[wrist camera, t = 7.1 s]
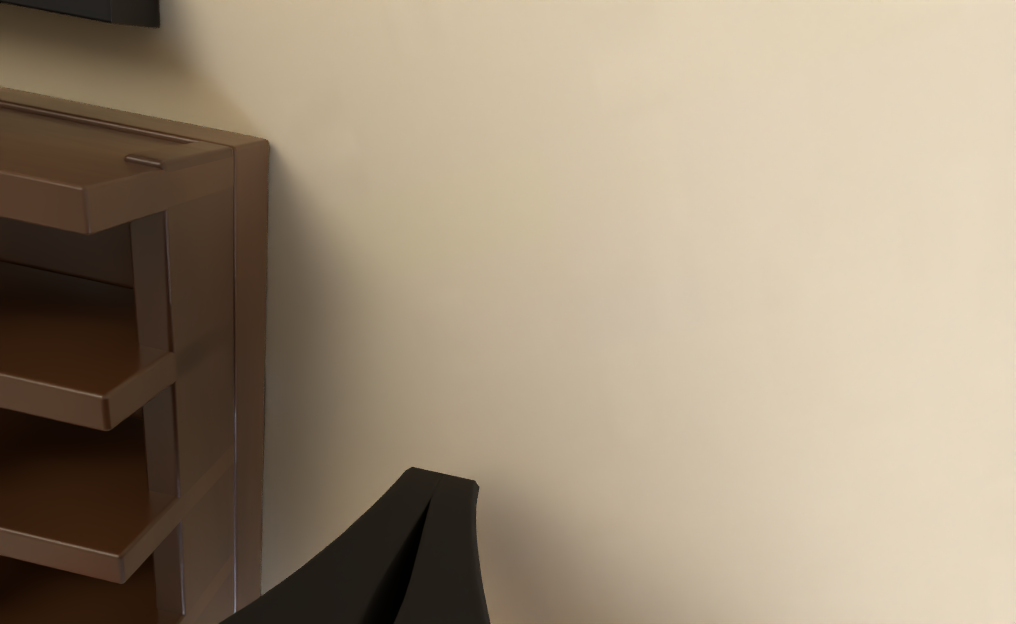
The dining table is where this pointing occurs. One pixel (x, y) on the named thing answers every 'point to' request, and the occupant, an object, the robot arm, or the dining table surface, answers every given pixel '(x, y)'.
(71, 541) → the rack
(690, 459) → the dining table surface
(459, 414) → the dining table surface
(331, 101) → the dining table surface
